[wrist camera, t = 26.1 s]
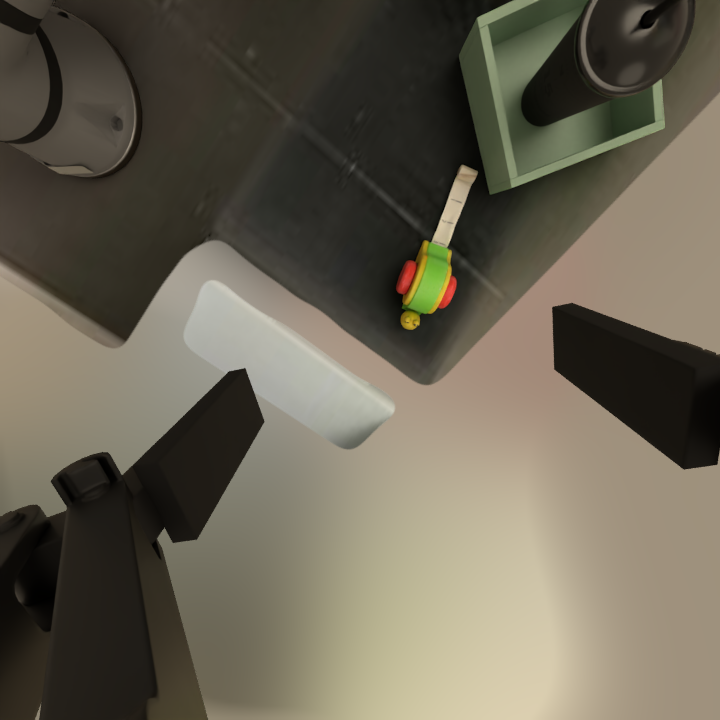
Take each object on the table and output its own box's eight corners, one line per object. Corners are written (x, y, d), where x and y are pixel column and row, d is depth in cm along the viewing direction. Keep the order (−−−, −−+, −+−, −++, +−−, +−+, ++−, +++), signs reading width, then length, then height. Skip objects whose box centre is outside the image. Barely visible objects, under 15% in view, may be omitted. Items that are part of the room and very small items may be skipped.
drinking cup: (566, 36, 35) (792, -193, 16) (592, 112, 37) (819, -10, 18) (495, 86, 36) (624, -68, 18) (524, 156, 38) (667, 86, 20)
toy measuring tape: (382, 315, 46) (383, 328, 40) (443, 158, 40) (455, 145, 34) (426, 331, 47) (434, 347, 41) (493, 179, 40) (515, 170, 34)
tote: (458, 55, 36) (476, 17, 30) (598, -10, 34) (652, -66, 28) (489, 194, 41) (511, 188, 34) (615, 145, 39) (665, 128, 32)
